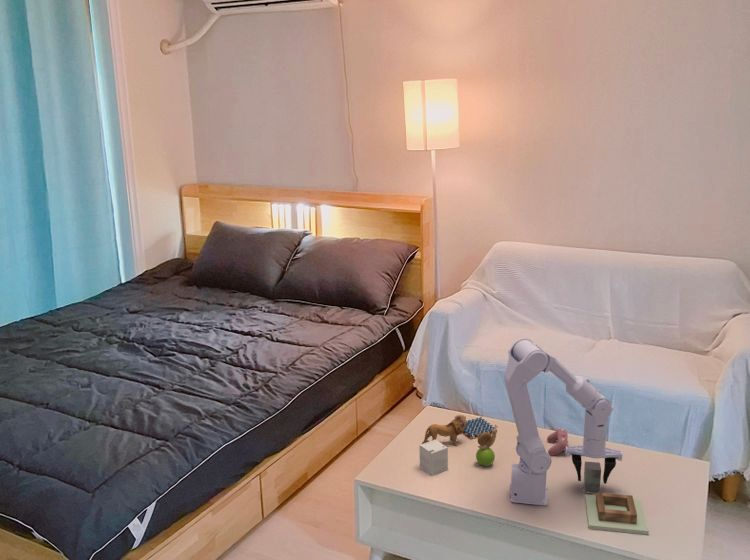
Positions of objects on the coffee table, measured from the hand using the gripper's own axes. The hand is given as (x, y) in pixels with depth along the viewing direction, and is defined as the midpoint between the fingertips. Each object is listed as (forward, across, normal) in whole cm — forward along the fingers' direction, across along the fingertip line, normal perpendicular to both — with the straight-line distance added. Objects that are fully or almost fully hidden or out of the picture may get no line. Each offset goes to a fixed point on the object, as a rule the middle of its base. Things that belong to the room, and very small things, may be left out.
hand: (591, 480), depth 193 cm
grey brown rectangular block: (+2, 0, 0) cm, 2 cm away
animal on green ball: (+3, +29, -8) cm, 30 cm away
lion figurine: (+3, +43, -19) cm, 47 cm away
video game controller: (+3, +8, -21) cm, 23 cm away
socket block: (+2, -5, +12) cm, 13 cm away
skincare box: (+3, +44, -3) cm, 44 cm away
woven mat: (+3, +34, -29) cm, 45 cm away
